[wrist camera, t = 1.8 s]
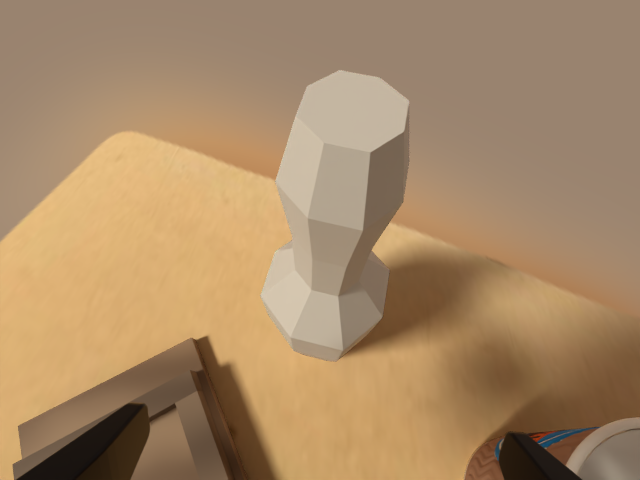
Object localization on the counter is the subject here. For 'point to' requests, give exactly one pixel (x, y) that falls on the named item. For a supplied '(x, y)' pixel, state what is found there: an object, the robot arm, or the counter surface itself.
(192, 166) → the counter surface
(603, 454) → the coffee cup
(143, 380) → the brown wooden tray
